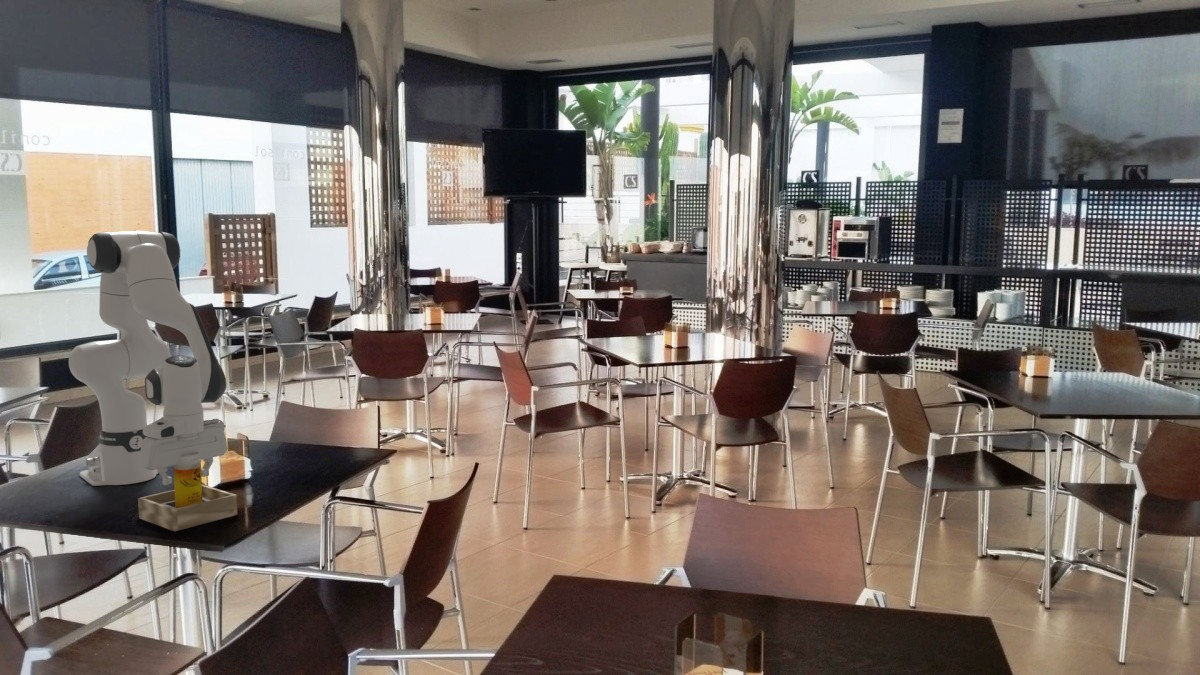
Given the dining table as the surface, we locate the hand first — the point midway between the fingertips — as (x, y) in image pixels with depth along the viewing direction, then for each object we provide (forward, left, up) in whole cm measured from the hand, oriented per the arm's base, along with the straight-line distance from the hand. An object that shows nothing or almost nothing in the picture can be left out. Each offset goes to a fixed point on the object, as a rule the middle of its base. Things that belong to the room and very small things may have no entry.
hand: (186, 480), depth 228 cm
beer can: (+1, 0, -8) cm, 8 cm away
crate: (0, 0, -9) cm, 9 cm away
